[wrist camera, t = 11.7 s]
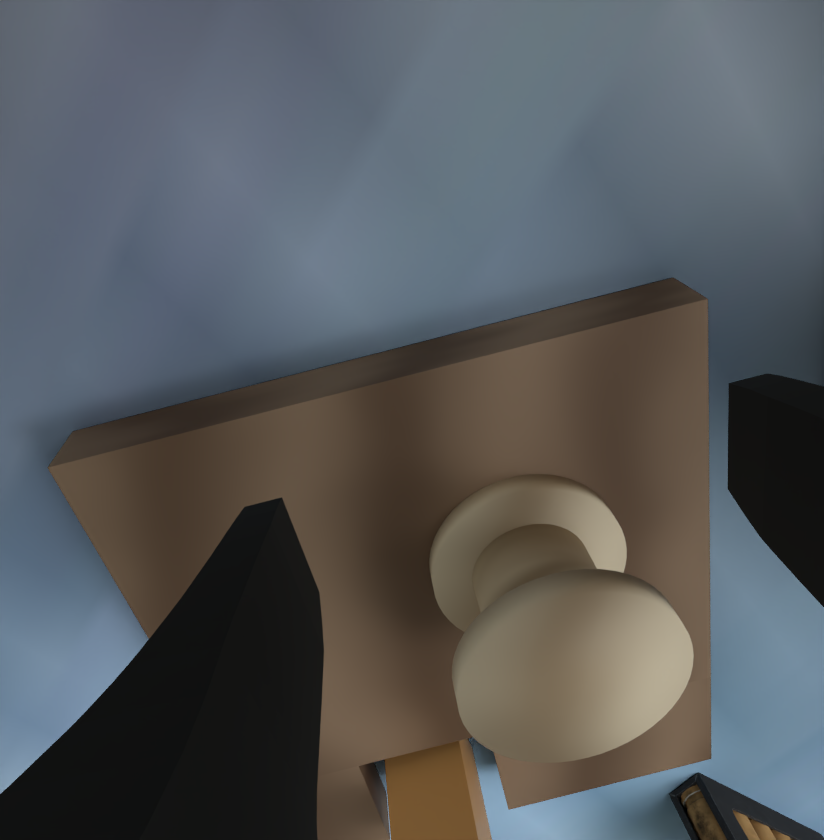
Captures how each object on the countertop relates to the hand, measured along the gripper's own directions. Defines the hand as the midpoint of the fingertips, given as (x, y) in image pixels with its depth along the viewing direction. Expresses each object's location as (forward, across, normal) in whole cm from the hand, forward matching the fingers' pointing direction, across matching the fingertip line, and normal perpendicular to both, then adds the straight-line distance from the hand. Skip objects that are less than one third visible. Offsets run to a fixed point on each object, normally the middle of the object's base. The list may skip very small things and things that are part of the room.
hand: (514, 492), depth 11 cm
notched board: (+9, +2, +11) cm, 15 cm away
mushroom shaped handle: (+7, -1, +8) cm, 11 cm away
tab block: (+9, +4, +18) cm, 21 cm away
